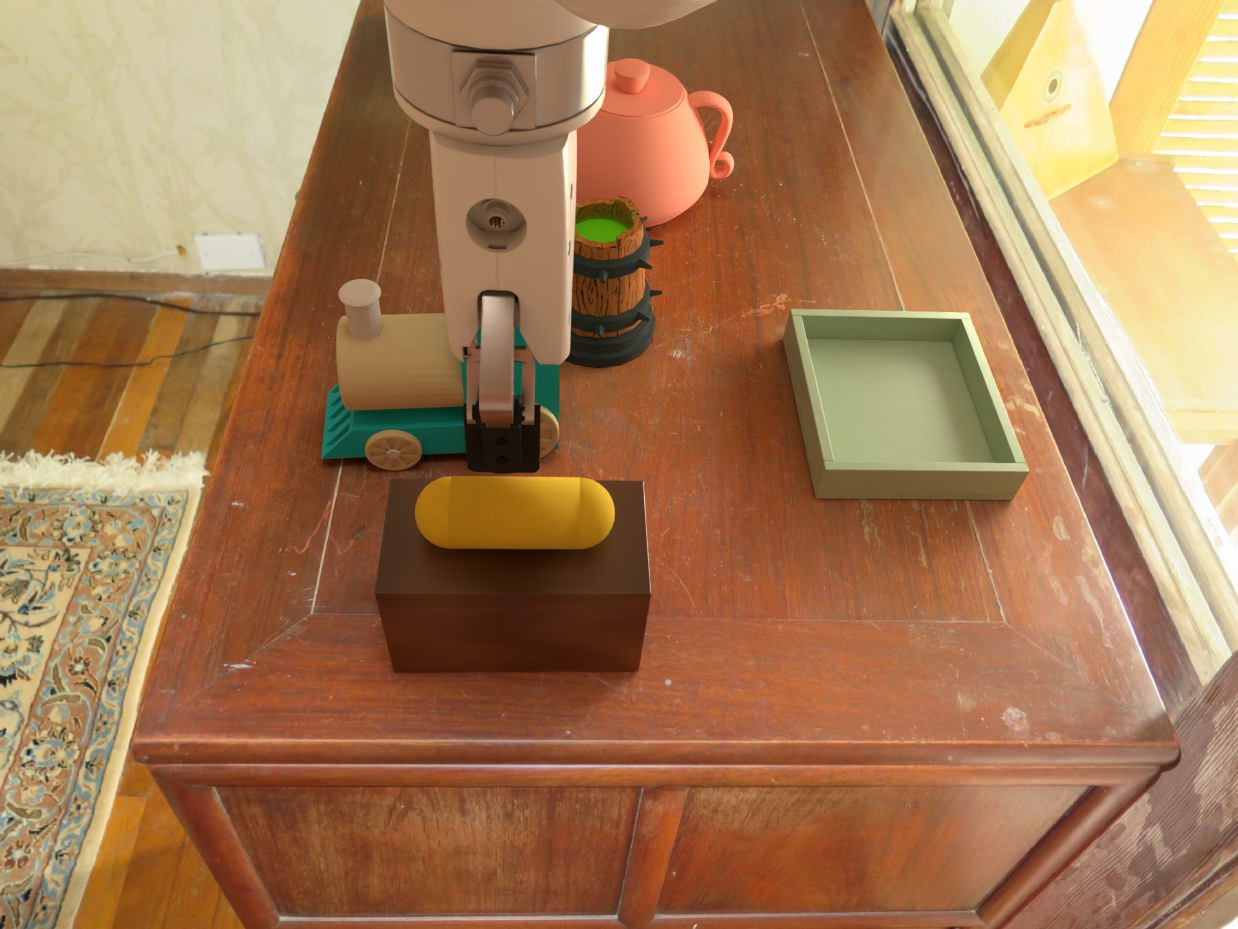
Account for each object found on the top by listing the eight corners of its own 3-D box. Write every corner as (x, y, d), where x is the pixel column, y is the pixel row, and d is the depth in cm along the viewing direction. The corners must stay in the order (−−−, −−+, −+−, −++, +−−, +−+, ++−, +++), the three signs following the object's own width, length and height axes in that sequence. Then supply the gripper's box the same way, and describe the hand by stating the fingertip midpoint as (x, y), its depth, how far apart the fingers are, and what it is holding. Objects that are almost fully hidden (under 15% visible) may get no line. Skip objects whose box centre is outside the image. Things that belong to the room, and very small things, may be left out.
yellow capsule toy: (611, 506, 58) (615, 463, 55) (614, 563, 55) (618, 521, 52) (421, 504, 57) (415, 460, 54) (415, 562, 55) (407, 519, 52)
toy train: (330, 394, 74) (292, 230, 63) (551, 386, 76) (553, 226, 65) (322, 476, 69) (279, 315, 58) (558, 465, 71) (562, 307, 60)
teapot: (490, 237, 87) (483, 109, 78) (499, 138, 97) (494, 13, 88) (736, 246, 89) (760, 121, 79) (721, 147, 99) (740, 25, 89)
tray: (1012, 500, 72) (1030, 471, 69) (815, 498, 71) (825, 469, 68) (955, 342, 82) (968, 312, 80) (782, 338, 81) (790, 308, 79)
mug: (653, 286, 84) (667, 169, 76) (662, 371, 78) (678, 254, 69) (500, 283, 84) (496, 164, 75) (496, 369, 77) (491, 250, 68)
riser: (633, 564, 66) (643, 480, 59) (638, 672, 61) (651, 594, 54) (406, 563, 65) (390, 477, 58) (393, 672, 60) (374, 593, 53)
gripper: (616, 204, 29) (588, 538, 42) (601, -58, 40) (583, 273, 53) (355, 194, 28) (411, 536, 42) (413, -69, 39) (442, 268, 53)
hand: (507, 388), depth 47 cm, fingers open, 9 cm apart
